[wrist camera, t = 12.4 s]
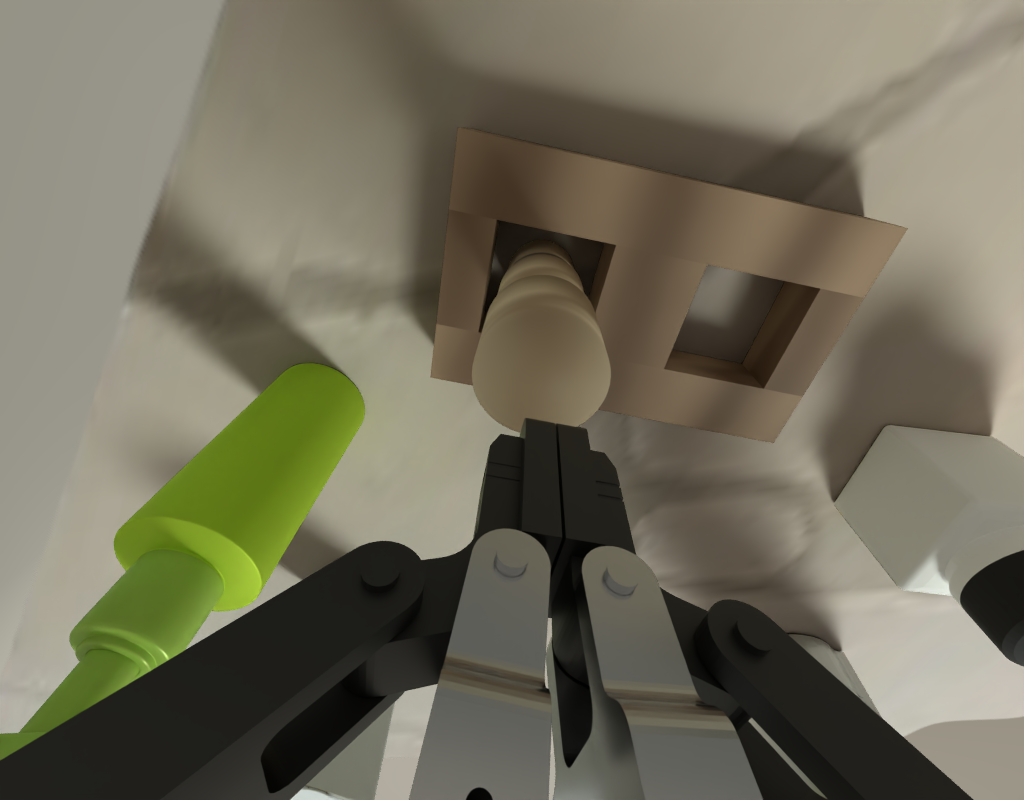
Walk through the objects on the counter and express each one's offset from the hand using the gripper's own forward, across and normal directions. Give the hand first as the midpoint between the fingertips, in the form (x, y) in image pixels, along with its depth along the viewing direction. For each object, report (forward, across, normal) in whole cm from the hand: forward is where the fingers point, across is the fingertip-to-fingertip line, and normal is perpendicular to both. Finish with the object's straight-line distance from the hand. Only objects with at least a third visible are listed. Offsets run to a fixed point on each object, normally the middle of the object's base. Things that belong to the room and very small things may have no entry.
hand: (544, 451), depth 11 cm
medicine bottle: (+16, -27, +8) cm, 32 cm away
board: (+16, -5, 0) cm, 17 cm away
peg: (+16, 0, 0) cm, 16 cm away
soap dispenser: (+16, +12, +11) cm, 23 cm away
